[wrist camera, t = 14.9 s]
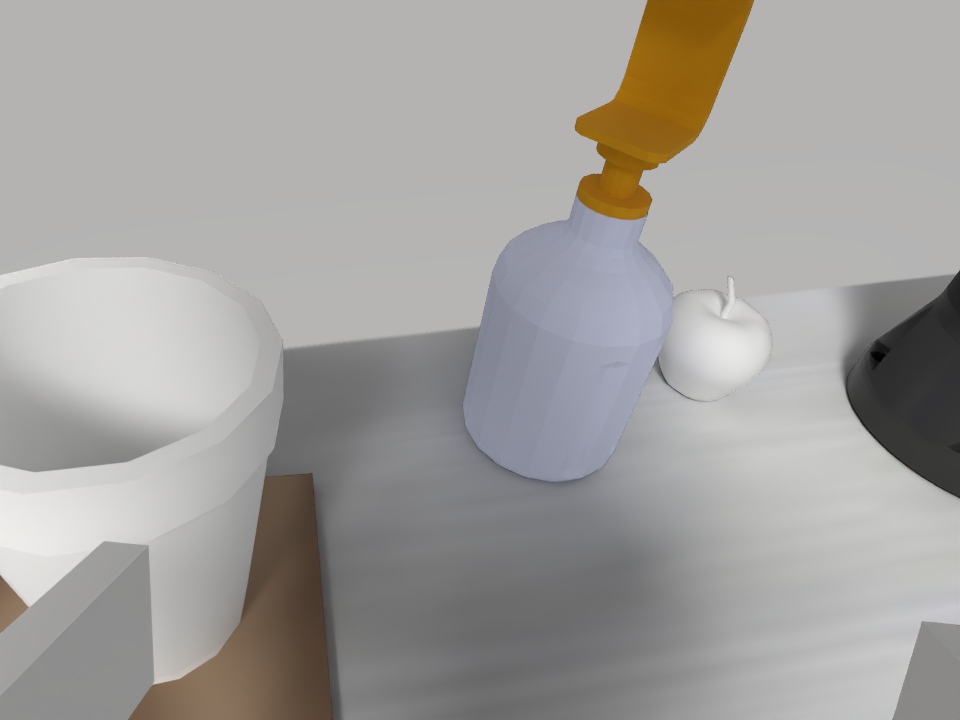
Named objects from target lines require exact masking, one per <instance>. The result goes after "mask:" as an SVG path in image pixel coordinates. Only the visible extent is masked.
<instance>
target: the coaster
mask: <svg viewBox="0 0 960 720" xmlns="http://www.w3.org/2000/svg"><path fill="white" fill-rule="evenodd" d="M28 608H29V607H28V606H27V605H26V604H25V602H24V601H23V600H22V599H21V598H20V597H19V596H18V595H17V593H16V592H15V591H14V590H13V589H12V588H11V587H10V586H9V584H8V583H7V582H6V581H5V580H4V579H3V578H2V577H1V575H0V633H1V632H2V631H3V630H5V629H6V628H7V627H8V626H9V625H10V624H11V623H12V622H14V621H15V620H16V619H17V618H18V617H19V616H20V615H21V614H23V613H24V612H25V611H26V610H27V609H28ZM128 720H332V708H331V695H330V683H329V671H328V659H327V647H326V635H325V623H324V611H323V598H322V586H321V574H320V562H319V550H318V538H317V526H316V514H315V502H314V489H313V477H312V473H310V474H297V475H285V476H272V477H265V478H264V485H263V491H262V497H261V503H260V510H259V516H258V522H257V528H256V535H255V541H254V547H253V553H252V560H251V566H250V572H249V578H248V584H247V589H246V594H245V600H244V605H243V610H242V615H241V620H240V623H239V625H238V626H237V627H236V629H235V630H234V632H233V633H232V634H231V636H230V637H229V639H228V640H227V641H226V643H225V644H224V645H223V647H222V648H221V650H220V651H219V652H218V654H217V655H216V656H214V657H213V658H211V659H209V660H208V661H206V662H205V663H203V664H202V665H200V666H199V667H197V668H196V669H194V670H193V671H191V672H189V673H188V674H186V675H185V676H183V677H182V678H180V679H177V680H172V681H168V682H163V683H158V684H154V685H152V686H151V687H150V689H149V690H148V691H147V693H146V694H145V696H144V697H143V699H142V700H141V701H140V703H139V704H138V706H137V707H136V709H135V710H134V711H133V713H132V714H131V716H130V717H129V719H128Z"/></svg>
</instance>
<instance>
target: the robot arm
mask: <svg viewBox="0 0 960 720" xmlns="http://www.w3.org/2000/svg"><path fill="white" fill-rule="evenodd" d="M847 389H848V394H849V397H850V400H851V403H852V405H853V407H854V409H855V411H856V412H857V414H858V416H859V417H860V419H861V420H862V422H863V423H864V424H865V425H866V427H867V428H868V429H869V430H870V432H871V433H872V434H873V435H874V436H875V437H876V438H877V439H878V440H879V441H880V442H881V443H882V444H883V445H884V446H885V447H886V448H887V449H888V450H889V451H890V452H891V453H893V454H894V455H895V456H896V457H897V458H899V459H900V460H901V461H902V462H904V463H905V464H906V465H907V466H909V467H910V468H912V469H913V470H914V471H916V472H917V473H919V474H920V475H922V476H923V477H925V478H926V479H928V480H929V481H931V482H933V483H934V484H936V485H938V486H939V487H941V488H943V489H945V490H947V491H948V492H950V493H952V494H954V495H956V496H958V497H960V271H959V272H958V273H957V275H956V276H955V277H954V279H953V280H952V281H951V283H950V284H949V285H948V287H947V288H946V289H945V290H944V292H943V293H942V294H941V295H940V296H939V297H937V298H936V299H935V300H933V301H932V302H930V303H929V304H927V305H926V306H924V307H923V308H922V309H920V310H919V311H917V312H916V313H914V314H913V315H912V316H910V317H909V318H907V319H906V320H904V321H903V322H902V323H900V324H899V325H897V326H896V327H894V328H893V329H892V330H890V331H889V332H887V333H886V334H884V335H883V336H882V337H880V338H879V339H877V340H876V341H874V342H873V343H872V344H871V345H870V346H869V347H868V348H867V349H866V350H865V351H864V353H863V354H862V356H861V357H860V358H859V360H858V361H857V363H856V364H855V365H854V367H853V368H852V370H851V371H850V373H849V376H848V380H847ZM153 683H154V659H153V636H152V613H151V589H150V566H149V545H139V544H129V543H119V542H108V541H103V542H102V543H101V544H100V545H99V546H98V547H97V548H96V549H94V550H93V551H92V552H91V553H90V554H89V555H88V556H87V557H86V558H84V559H83V560H82V561H81V562H80V563H79V564H78V565H77V566H75V567H74V568H73V569H72V570H71V571H70V572H69V573H68V574H66V575H65V576H64V577H63V578H62V579H61V580H60V581H59V582H57V583H56V584H55V585H54V586H53V587H52V588H51V589H50V590H48V591H47V592H46V593H45V594H44V595H43V596H42V597H41V598H39V599H38V600H37V601H36V602H35V603H34V604H33V605H32V606H30V607H29V608H28V609H27V610H26V611H25V612H24V613H23V614H21V615H20V616H19V617H18V618H17V619H16V620H15V621H14V622H12V623H11V624H10V625H9V626H8V627H7V628H6V629H5V630H3V631H2V632H1V633H0V720H128V719H129V717H130V716H131V714H132V713H133V711H134V710H135V709H136V707H137V706H138V704H139V703H140V701H141V700H142V699H143V697H144V696H145V694H146V693H147V691H148V690H149V689H150V687H151V686H152V684H153ZM893 720H960V625H954V624H944V623H934V622H923V621H922V624H921V627H920V630H919V634H918V637H917V640H916V644H915V647H914V650H913V654H912V657H911V660H910V664H909V667H908V670H907V674H906V677H905V680H904V683H903V687H902V690H901V693H900V697H899V700H898V703H897V707H896V710H895V713H894V717H893Z"/></svg>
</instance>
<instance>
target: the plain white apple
mask: <svg viewBox="0 0 960 720" xmlns="http://www.w3.org/2000/svg"><path fill="white" fill-rule="evenodd" d="M727 280H728V294H725V293H723V292H719V291H717V290H707V289H703V290H690V291H686V292H683V293H681V294H679V295H677V296H676V297H674V298H673V323H672V325H671V327H670V330H669V332H668V334H667V336H666V338H665V341H664V343H663V345H662V347H661V349H660V352H659V354H658V356H659V364H660V368H661V371H662V373H663V375H664V378H665V379H666V381H667V383H668V384H669V385H670V386H671V387H672V388H674V389H675V390H677V391H678V392H680V393H681V394H683V395H684V396H686V397H688V398H690V399H694V400H699V401H707V402H708V401H716V400H718V399H721V398H723V397H725V396H727V395H729V394H730V393H732V392H734V391H736V390H737V389H739V388H741V387H743V386H744V385H746V384H747V383H749V382H750V381H752V380H753V379H754V378H755V377H756V376H758V375H759V374H760V373H761V372H762V371H763V369H764V368H765V366H766V365H767V363H768V361H769V359H770V356H771V352H772V333H771V329H770V327H769V324H768V322H767V320H766V318H765V317H764V316H763V315H762V314H761V313H760V312H758V311H757V310H756V309H754V308H753V307H752V306H751V305H750V304H749V303H747V302H746V301H744V300H743V299H740V298H737V297H735V288H734V278H733V277H731V276H728V278H727Z"/></svg>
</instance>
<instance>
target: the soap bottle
mask: <svg viewBox="0 0 960 720" xmlns="http://www.w3.org/2000/svg"><path fill="white" fill-rule="evenodd" d="M753 2H754V0H648V1H647V4H646V8H645V11H644V14H643V17H642V21H641V24H640V27H639V30H638V34H637V37H636V40H635V43H634V47H633V50H632V53H631V56H630V60H629V63H628V67H627V70H626V73H625V76H624V79H623V81H622V84H621V87H620V89H619V91H618V92H617V94H616V96H615V98H614V100H612V101H611V102H609V103H608V104H605V105H603V106H601V107H599V108H597V109H595V110H593V111H590V112H588V113H586V114H584V115H582V116H580V117H578V118H577V121H576V124H575V130H576V131H577V132H578V133H579V134H580V135H582V136H585V137H587V138H589V139H592V140H594V141H597V142H598V144H597V151H598V153H599V154H600V155H601V156H602V157H603V158H604V159H606V161H605V165H604V168H603V171H602V174H591V175H588V176H584V177H583V178H582V180H581V181H580V183H579V186H578V190H577V194H576V197H575V201H574V204H573V207H572V211H571V214H570V218H569V219H568V220H566V221H557V222H552V223H547V224H543V225H540V226H538V227H535V228H533V229H530V230H527V231H525V232H523V233H522V234H520V235H518V236H517V237H516V238H514V239H512V240H511V241H510V242H509V243H508V245H507V246H506V247H505V249H504V250H503V251H502V253H501V254H500V255H499V258H498V260H497V262H496V264H495V267H494V269H493V272H492V276H491V281H490V285H489V290H488V294H487V299H486V303H485V307H484V313H483V317H482V321H481V325H480V330H479V334H478V339H477V343H476V348H475V352H474V357H473V361H472V366H471V370H470V375H469V379H468V384H467V388H466V393H465V397H464V402H463V411H464V418H465V425H466V428H467V430H468V432H469V433H470V435H471V436H472V438H473V440H474V441H475V443H476V445H477V446H478V448H479V449H480V450H481V451H483V452H484V453H485V454H486V455H487V456H489V457H490V458H491V459H492V460H493V461H495V462H496V463H497V464H498V465H499V466H501V467H504V468H506V469H508V470H510V471H513V472H515V473H517V474H519V475H521V476H524V477H526V478H532V479H538V480H544V481H550V482H559V481H567V480H575V479H581V478H583V477H585V476H587V475H588V474H590V473H592V472H594V471H596V470H598V469H600V468H601V467H603V466H604V465H605V463H606V462H607V460H608V459H609V458H610V456H611V455H612V453H613V452H614V451H615V449H616V446H617V444H618V442H619V440H620V438H621V435H622V433H623V431H624V429H625V427H626V424H627V422H628V420H629V418H630V416H631V413H632V411H633V409H634V407H635V404H636V402H637V400H638V398H639V396H640V393H641V391H642V389H643V387H644V385H645V382H646V380H647V378H648V376H649V374H650V371H651V369H652V367H653V365H654V363H655V360H656V358H657V356H658V354H659V352H660V349H661V347H662V345H663V343H664V341H665V338H666V336H667V334H668V332H669V330H670V327H671V325H672V323H673V285H672V284H671V282H670V280H669V278H668V277H667V275H666V273H665V272H664V270H663V268H662V267H661V265H660V264H659V263H658V261H657V260H656V258H655V257H654V255H653V254H652V253H651V252H649V251H648V250H647V249H646V248H645V247H644V246H642V244H640V243H639V242H638V239H639V236H640V234H641V231H642V228H643V226H644V223H645V220H646V218H647V215H648V210H649V207H650V205H651V202H652V198H651V196H650V194H649V193H648V192H647V191H646V190H645V189H644V188H643V187H641V186H640V185H638V184H639V181H640V178H641V175H642V172H643V170H652V169H655V168H657V167H658V165H659V163H666V162H667V161H669V160H670V159H671V158H673V157H674V156H675V155H676V154H678V153H680V152H681V151H682V150H684V149H685V148H686V147H687V146H689V145H690V144H692V143H693V142H694V141H695V140H696V138H697V137H698V136H699V134H700V132H701V131H702V129H703V127H704V125H705V123H706V121H707V119H708V117H709V114H710V112H711V110H712V107H713V105H714V102H715V99H716V97H717V95H718V92H719V89H720V87H721V85H722V82H723V80H724V77H725V75H726V72H727V70H728V67H729V65H730V62H731V59H732V57H733V54H734V52H735V50H736V47H737V45H738V42H739V40H740V37H741V34H742V32H743V29H744V27H745V24H746V22H747V19H748V16H749V14H750V11H751V8H752V5H753Z"/></svg>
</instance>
